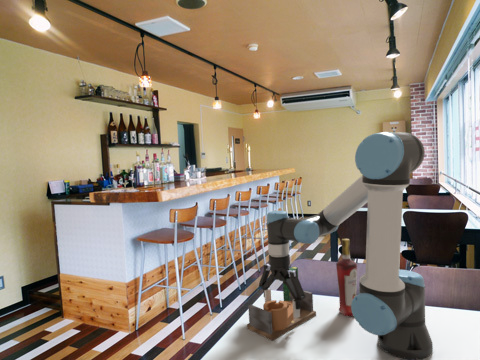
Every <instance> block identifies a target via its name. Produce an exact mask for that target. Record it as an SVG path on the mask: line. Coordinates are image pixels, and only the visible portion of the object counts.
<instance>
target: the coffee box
mask: <svg viewBox="0 0 480 360" xmlns="http://www.w3.org/2000/svg"><path fill="white" fill-rule="evenodd" d="M289 269H290V271H294V270H296V271H297V276H298V277H299V268H298V267H297V266H291V267H289ZM287 279H288V278H287ZM287 279H286V280H287ZM282 288H283V289H282V293H283V301H290V291H289V289H288V288H287V286H286V284H284V283H283V282H282Z"/></svg>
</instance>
